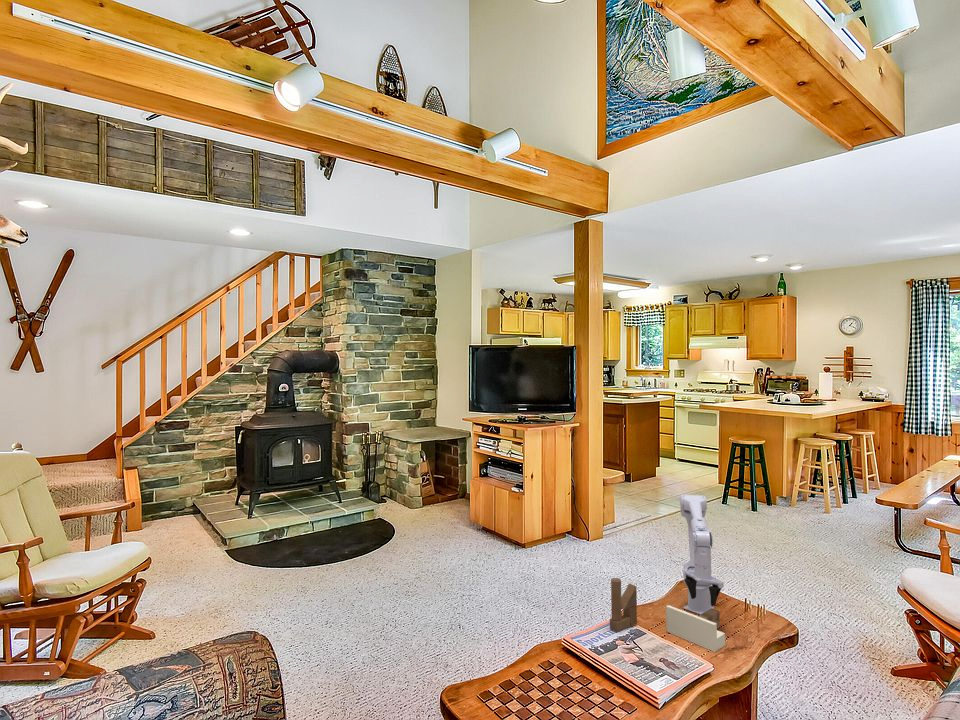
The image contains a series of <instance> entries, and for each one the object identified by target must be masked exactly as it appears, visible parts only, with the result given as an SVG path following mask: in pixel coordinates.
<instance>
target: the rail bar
mask: <svg viewBox="0 0 960 720" xmlns="http://www.w3.org/2000/svg"><path fill="white" fill-rule="evenodd" d="M720 613H721V612H720V611H719V610H718V609H715V608H714V609H712V608H711V609H710V610H708V611H706V612H704V613H703V614H701V615H700V614H698V615H697V616H698V617H701V618H703V619H706V620H709V621H711V622H714V623H717V630H718V629H719V628H720V627H721V624H720V622H721V621H720V620H721V619H720Z"/></svg>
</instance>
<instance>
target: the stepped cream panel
mask: <svg viewBox="0 0 960 720" xmlns="http://www.w3.org/2000/svg"><path fill="white" fill-rule="evenodd" d="M698 616H699V615H695V614H692V613H690V612H688V611H685V610H683V609H680V608H677V607H674V606H671V605H669V604H668V605H666V606H665V618H666V619H665V620H666V621H665V622H666V625H665V626H666V628H665V629H666V632H667V633H669V634H672V635H674V636H677V637H679V638H681V639H683V640H686V641H688V642H691V643H693V644H695V645H697V646H700V647H702V648H705V649H707V650H709V651H711V652H713V653H715V652H717V651H719V650H721V648H723V647H725V646H726V633H725V632H723V631H721V630H718V629H717V623H714V622H711V621H709V620H706V619H703V618H701V617H698Z"/></svg>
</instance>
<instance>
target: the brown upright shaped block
mask: <svg viewBox="0 0 960 720" xmlns="http://www.w3.org/2000/svg"><path fill="white" fill-rule="evenodd" d="M610 593H611V594H610V597H611V598H610V599H611V604H610V605H611V607H610V608H611V609H610V610H611V618H609V629H610V628H611V629H610V630H612V631H614V632H615V631H616V632H615V633H618V631H619V632H621V631H624V630H626V629H628V628H630V627H631V628H632V627H634V626H637V625H638V615H637V613H638V611H637V605H638V602H637V601H638V600H637V598H638V597H637V596H638V595H637V593H638V592H637V586H636V585H635V584H632V583H629V582H628V585H627V586H626V587H625V590H624V592H623V593H622V579H621V578H618V577H613V578H611V579H610ZM622 611H623V614H622ZM623 629H624V630H623Z"/></svg>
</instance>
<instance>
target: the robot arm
mask: <svg viewBox="0 0 960 720" xmlns="http://www.w3.org/2000/svg"><path fill="white" fill-rule="evenodd" d="M707 503H708V502H707V497H706V496H705V495H704V494H702V495H697V494H683V493H681V494H680V495H679V507H680V514H681V516H682V517H684V518H685V519H686V520H685V521H686V523H687V532H688V533H687V535H688V547H689V560H688V561H687V562H685V563H683V571H682V572H683V573H682V574H683V575H682V577H683V582H684V584H685V585H686V586H687V605H684V606H683V607H682V608H683V609H684V610H686V611H690V612H692V613H695V614H697V615H701V614H703V613H704V612H706V611H708V610H710V609H711V608H712V609H715V607H714V606H716V604H717V600H718V597H719V594H720V593H721V590H722V589H723V588H724V586H725V585H724V584H725V583H724V581H722V580H720V579H718V578H716V577H714V576H712V548H713V543H714V541H713V535H712V531H711V530H710V529H709V527H708V523H707V520H706V519H705V517H706V514H707V508H708V504H707Z"/></svg>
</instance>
